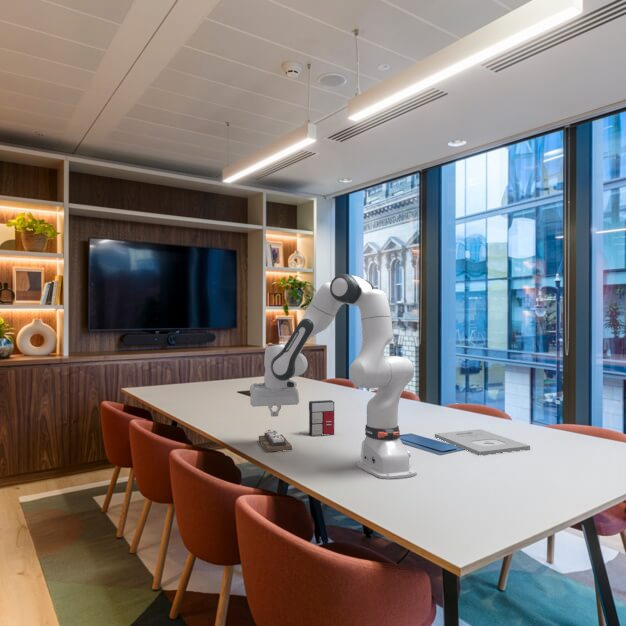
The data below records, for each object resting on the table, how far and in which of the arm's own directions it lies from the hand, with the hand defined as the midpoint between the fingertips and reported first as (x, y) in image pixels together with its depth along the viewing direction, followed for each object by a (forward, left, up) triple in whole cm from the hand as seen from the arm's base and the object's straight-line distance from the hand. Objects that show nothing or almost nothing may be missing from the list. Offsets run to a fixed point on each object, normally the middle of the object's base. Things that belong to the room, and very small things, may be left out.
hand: (274, 416), depth 204 cm
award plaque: (-20, -84, -13) cm, 87 cm away
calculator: (+12, -24, -12) cm, 29 cm away
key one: (0, 0, -9) cm, 9 cm away
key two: (+6, 0, -9) cm, 11 cm away
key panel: (0, 0, -12) cm, 12 cm away
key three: (-6, 0, -9) cm, 11 cm away
